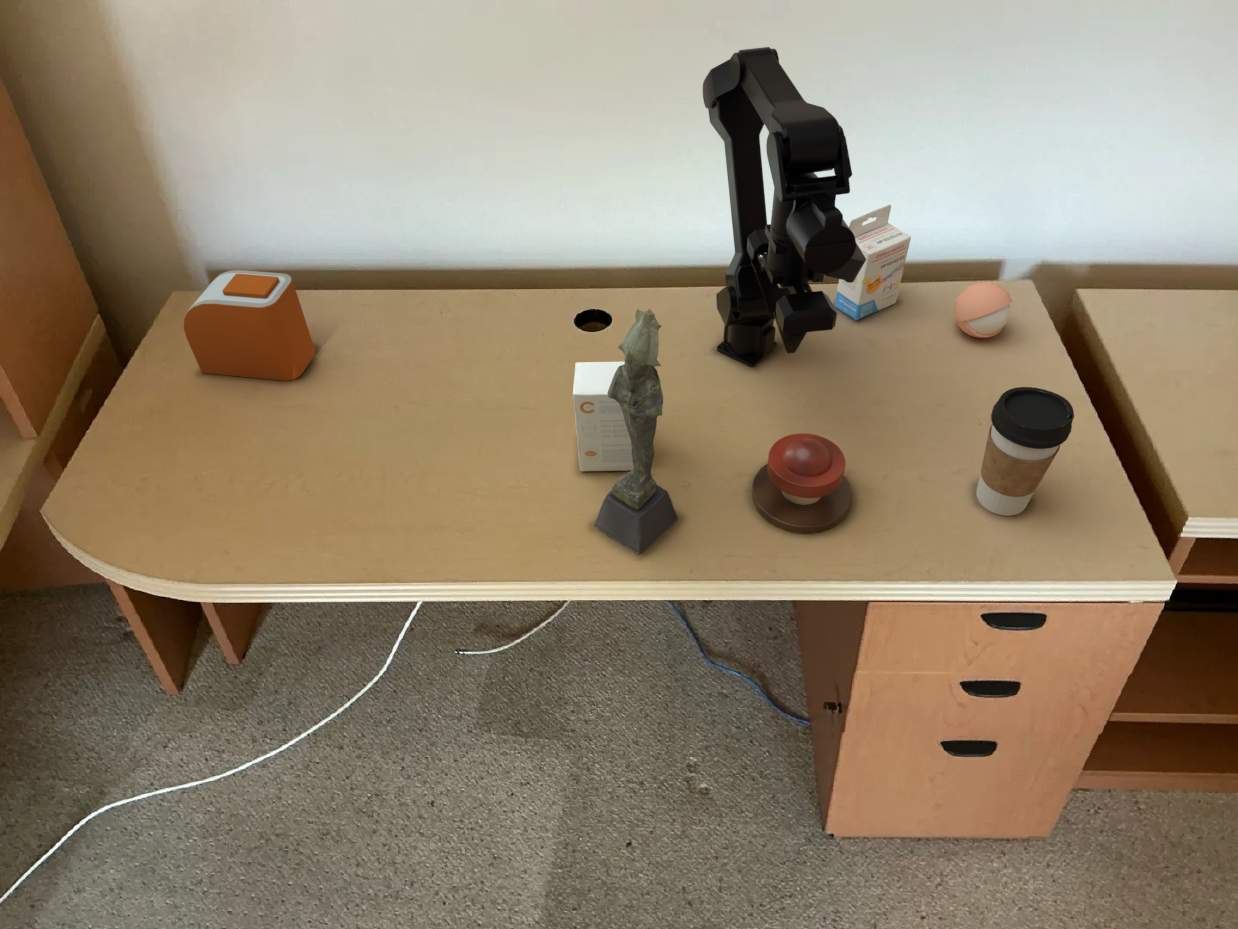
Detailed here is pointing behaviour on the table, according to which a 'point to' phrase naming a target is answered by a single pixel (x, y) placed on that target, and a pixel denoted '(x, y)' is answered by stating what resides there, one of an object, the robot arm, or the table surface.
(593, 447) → the small box
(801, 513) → the toy mushroom
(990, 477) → the coffee cup
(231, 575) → the table surface
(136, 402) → the table surface
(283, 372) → the alarm clock
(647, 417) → the statue
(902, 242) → the ink box
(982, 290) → the toy ball
